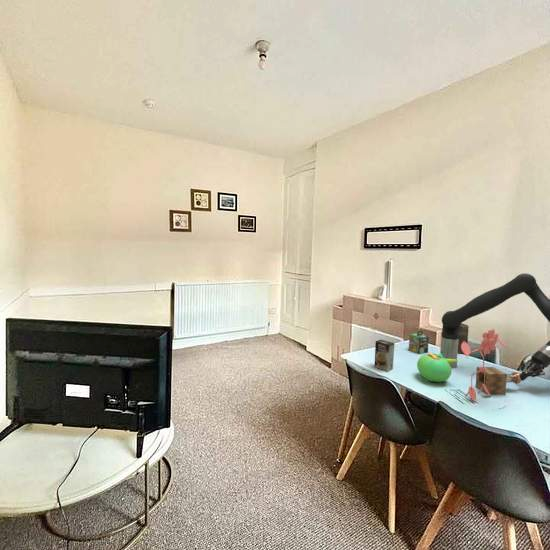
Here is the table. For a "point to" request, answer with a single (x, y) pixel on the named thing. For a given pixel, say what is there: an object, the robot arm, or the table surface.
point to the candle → (462, 336)
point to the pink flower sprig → (487, 346)
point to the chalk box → (418, 343)
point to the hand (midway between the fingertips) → (519, 379)
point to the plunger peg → (513, 378)
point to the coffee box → (384, 355)
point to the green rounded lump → (435, 367)
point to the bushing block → (492, 381)
